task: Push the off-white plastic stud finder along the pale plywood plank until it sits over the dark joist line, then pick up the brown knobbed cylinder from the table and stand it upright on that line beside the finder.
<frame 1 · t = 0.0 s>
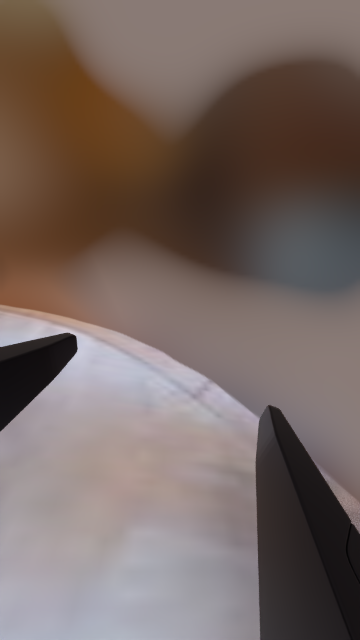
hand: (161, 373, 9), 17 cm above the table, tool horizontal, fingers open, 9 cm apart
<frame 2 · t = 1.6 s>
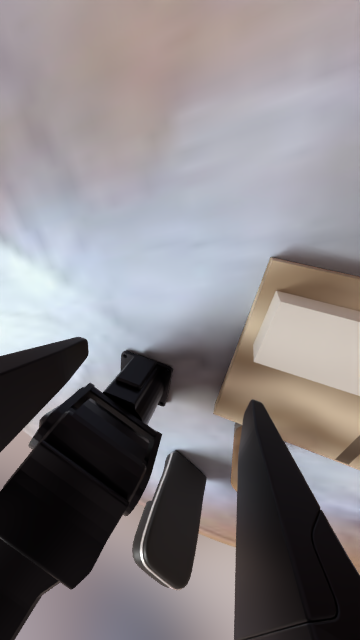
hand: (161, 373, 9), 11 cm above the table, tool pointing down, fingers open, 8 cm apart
plank: (349, 380, 18), on the table
brown knobbed cylinder: (252, 429, 23), on the table
battery charger: (184, 464, 31), on the table
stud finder: (322, 343, 14), point 3 cm above the table, slide at 0.0 cm
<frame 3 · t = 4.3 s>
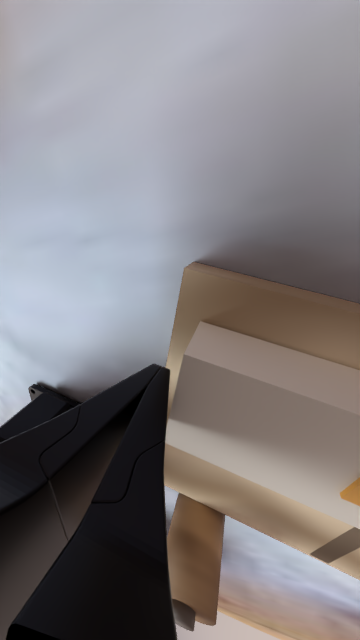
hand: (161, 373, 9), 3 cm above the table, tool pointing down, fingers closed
plank: (328, 452, 11), on the table
brown knobbed cylinder: (202, 492, 17), on the table
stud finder: (276, 419, 8), point 3 cm above the table, slide at 0.2 cm, touching gripper
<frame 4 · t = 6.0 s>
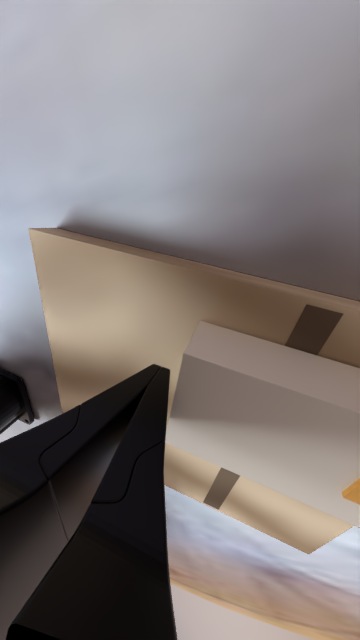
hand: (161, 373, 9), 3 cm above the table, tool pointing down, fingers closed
plank: (200, 402, 13), on the table
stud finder: (277, 418, 8), point 3 cm above the table, slide at 7.9 cm, touching gripper
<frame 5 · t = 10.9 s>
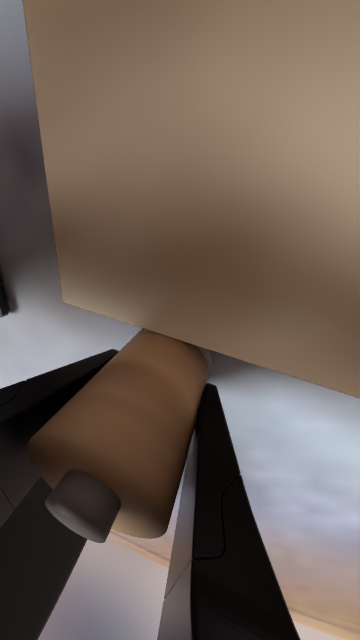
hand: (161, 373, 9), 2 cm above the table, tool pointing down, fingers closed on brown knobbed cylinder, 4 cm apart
brown knobbed cylinder: (173, 354, 10), on the table, touching gripper
battery charger: (89, 445, 18), on the table
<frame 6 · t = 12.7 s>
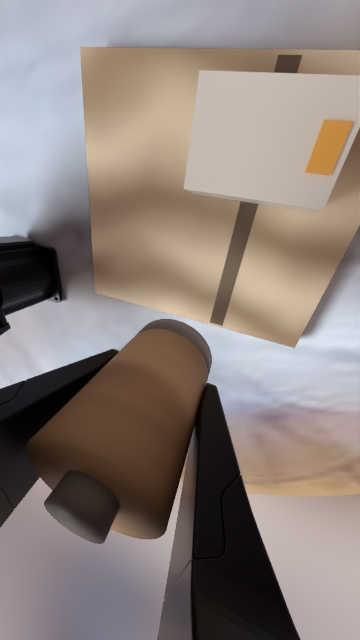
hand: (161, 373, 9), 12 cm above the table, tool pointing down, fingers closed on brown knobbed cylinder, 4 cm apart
plank: (206, 219, 16), on the table
brown knobbed cylinder: (172, 354, 10), point 10 cm above the table, touching gripper
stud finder: (262, 150, 11), point 3 cm above the table, slide at 7.9 cm
when the fingers open (4 cm above the table, at t = 14.5 s): brown knobbed cylinder drops 1 cm, resting on plank.
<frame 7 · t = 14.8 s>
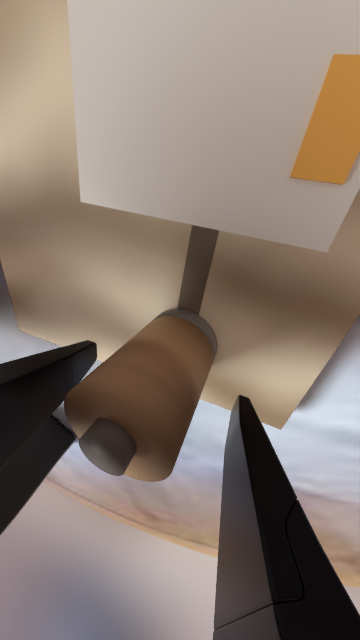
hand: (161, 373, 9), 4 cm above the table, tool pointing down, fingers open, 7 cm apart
plank: (153, 242, 11), on the table
brown knobbed cylinder: (182, 341, 11), point 2 cm above the table, touching plank
battery charger: (54, 422, 25), on the table
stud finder: (214, 133, 6), point 3 cm above the table, slide at 7.9 cm
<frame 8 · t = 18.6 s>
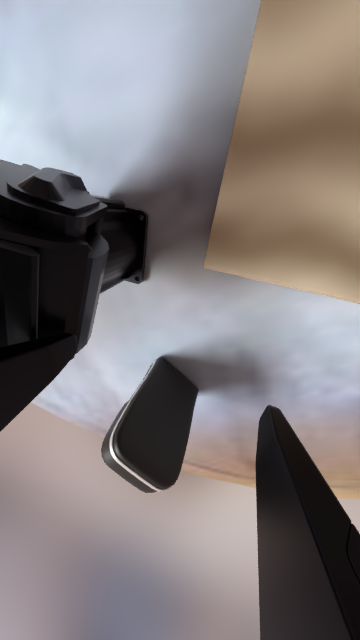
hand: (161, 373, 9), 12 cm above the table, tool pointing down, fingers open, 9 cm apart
battery charger: (172, 377, 26), on the table
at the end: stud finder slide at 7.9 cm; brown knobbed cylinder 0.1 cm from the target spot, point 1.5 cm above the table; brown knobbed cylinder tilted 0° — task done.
